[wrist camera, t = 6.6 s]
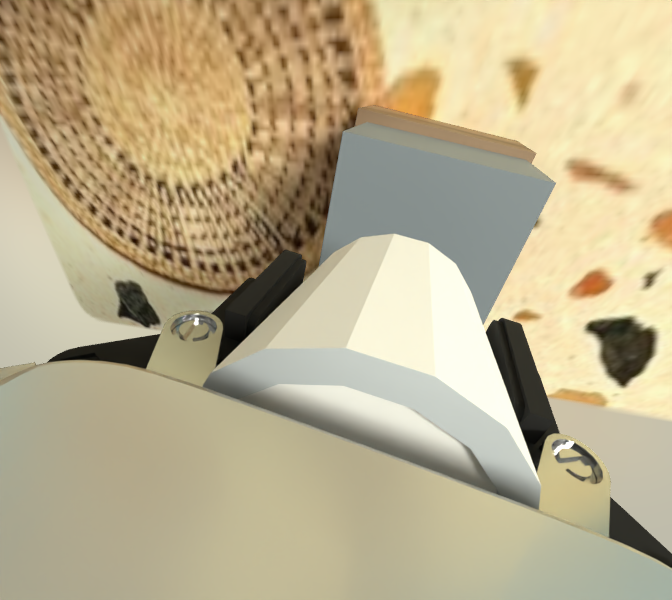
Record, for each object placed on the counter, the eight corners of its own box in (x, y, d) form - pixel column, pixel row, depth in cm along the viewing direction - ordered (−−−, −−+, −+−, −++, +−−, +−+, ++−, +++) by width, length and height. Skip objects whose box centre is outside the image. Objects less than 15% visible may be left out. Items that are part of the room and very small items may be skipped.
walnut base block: (375, 105, 25) (358, 108, 20) (516, 140, 24) (536, 153, 19) (344, 234, 31) (325, 262, 26) (459, 268, 29) (463, 304, 24)
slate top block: (367, 122, 20) (343, 131, 15) (526, 159, 19) (556, 183, 14) (337, 260, 25) (312, 302, 20) (464, 297, 24) (470, 350, 19)
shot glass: (516, 222, 10) (615, 396, 4) (471, 396, 14) (494, 624, 8) (291, 207, 12) (140, 321, 6) (302, 367, 15) (214, 540, 9)
